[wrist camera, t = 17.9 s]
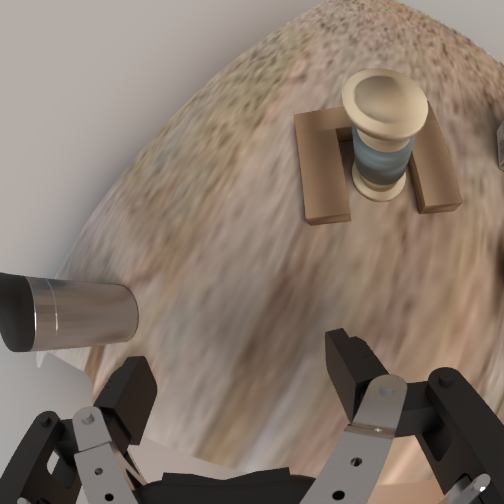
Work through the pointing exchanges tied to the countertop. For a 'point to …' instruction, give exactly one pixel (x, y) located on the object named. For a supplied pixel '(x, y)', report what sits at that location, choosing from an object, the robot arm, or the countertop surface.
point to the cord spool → (383, 129)
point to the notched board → (332, 174)
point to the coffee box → (501, 145)
